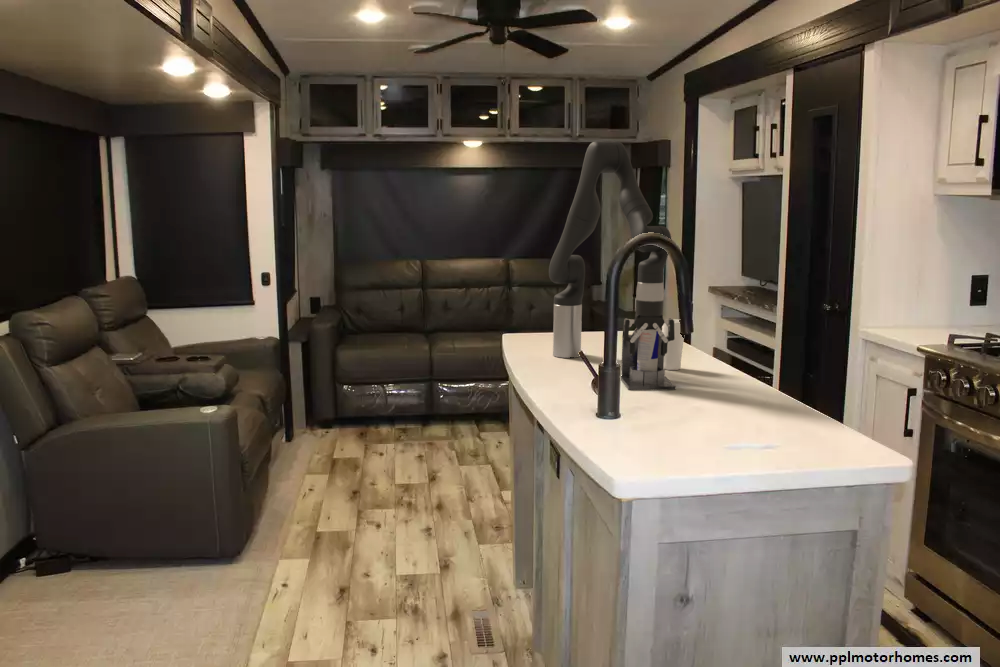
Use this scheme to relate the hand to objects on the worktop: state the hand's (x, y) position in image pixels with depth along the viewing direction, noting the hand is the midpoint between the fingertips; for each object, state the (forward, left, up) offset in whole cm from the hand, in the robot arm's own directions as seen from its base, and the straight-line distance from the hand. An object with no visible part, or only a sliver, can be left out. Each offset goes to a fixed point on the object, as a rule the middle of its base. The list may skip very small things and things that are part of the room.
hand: (647, 355), depth 231 cm
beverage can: (0, 0, -7) cm, 7 cm away
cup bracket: (0, 0, -8) cm, 8 cm away
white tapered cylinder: (-20, +12, -9) cm, 25 cm away
